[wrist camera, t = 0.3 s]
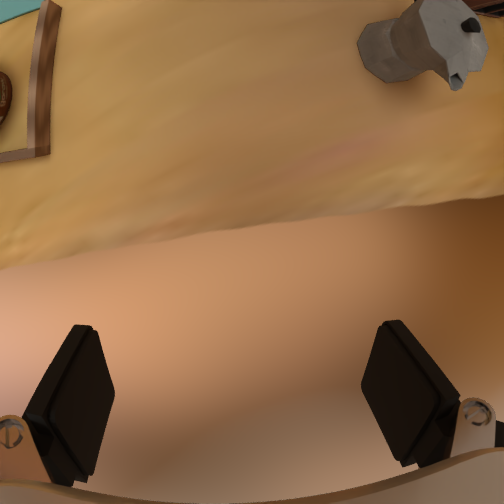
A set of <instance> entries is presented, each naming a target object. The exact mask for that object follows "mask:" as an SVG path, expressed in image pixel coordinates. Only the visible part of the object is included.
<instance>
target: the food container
mask: <svg viewBox="0 0 504 504" xmlns="http://www.w3.org/2000/svg"><path fill="white" fill-rule="evenodd" d="M11 100H12V85H11V82H10V79H9V78H8V76H7V75H6V74H4V73H2V72H0V125H1V123H2V122H3V120H4V119H5V117H6V115H7V113H8V111H9V108H10V104H11Z"/></svg>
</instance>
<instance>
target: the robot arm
mask: <svg viewBox="0 0 504 504" xmlns="http://www.w3.org/2000/svg"><path fill="white" fill-rule="evenodd" d="M361 389H362V392H363V394H364V396H365V398H366V400H367V402H368V404H369V406H370V408H371V410H372V412H373V414H374V416H375V418H376V421H377V423H378V425H379V427H380V429H381V431H382V433H383V435H384V437H385V439H386V442H387V443H388V445H389V448H390V450H391V452H392V454H393V456H394V458H395V459H396V460H397V461H400V463H401V465H402V467H406V466H409V465H412V464H414V463H416V462H417V464H418V466H419V468H418V470H415V471H412V472H408V473H405V474H402V475H399V476H396V477H393V478H389V479H386V480H382V481H379V482H375V483H372V484H367V485H363V486H359V487H355V488H351V489H346V490H341V491H337V492H331V493H326V494H320V495H314V496H308V497H301V498H295V499H286V500H278V501H267V502H253V503H232V504H504V423H503V422H500V421H497V420H496V416H495V411H494V409H493V408H492V407H491V405H490V404H489V403H487V402H486V401H485V400H482V399H479V398H474V397H472V398H467V399H465V400H463V401H462V402H460V401H459V397H460V394H459V393H458V391H457V390H456V389H455V387H454V386H453V385H452V383H451V382H450V381H449V380H448V378H447V377H446V376H445V374H444V373H443V372H442V370H441V369H440V368H439V367H438V365H437V364H436V363H435V362H434V360H433V359H432V358H431V356H430V355H429V354H428V353H427V352H426V350H425V349H424V348H423V347H422V346H421V344H420V343H419V342H418V340H417V339H416V338H415V337H414V335H413V334H412V333H411V332H410V331H409V329H408V328H407V327H406V326H405V325H404V324H403V322H402V321H401V320H391V321H385V322H383V324H382V326H379V328H378V330H377V333H376V337H375V340H374V344H373V347H372V350H371V354H370V357H369V360H368V363H367V366H366V370H365V373H364V376H363V379H362V382H361ZM114 397H115V390H114V386H113V383H112V380H111V377H110V374H109V370H108V367H107V364H106V360H105V357H104V354H103V350H102V346H101V342H100V339H99V335H98V332H97V331H96V330H93V328H92V326H89V325H74V326H73V328H72V329H71V331H70V332H69V334H68V335H67V337H66V339H65V340H64V342H63V344H62V345H61V347H60V349H59V351H58V352H57V354H56V356H55V357H54V359H53V361H52V363H51V364H50V365H49V367H48V369H47V370H46V372H45V374H44V376H43V378H42V380H41V381H40V383H39V385H38V387H37V389H36V390H35V392H34V394H33V396H32V398H31V400H30V402H29V404H28V406H27V408H26V410H25V412H24V414H23V416H22V418H21V417H19V416H16V415H6V416H2V417H0V504H194V503H174V502H161V501H150V500H142V499H133V498H127V497H119V496H113V495H107V494H101V493H96V492H91V491H85V490H81V489H76V488H72V486H73V483H74V480H76V481H80V482H84V483H87V480H88V476H89V475H90V476H92V475H93V473H94V470H95V466H96V462H97V458H98V454H99V450H100V446H101V443H102V439H103V435H104V432H105V428H106V425H107V421H108V418H109V414H110V411H111V407H112V404H113V401H114ZM195 504H196V503H195Z"/></svg>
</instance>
